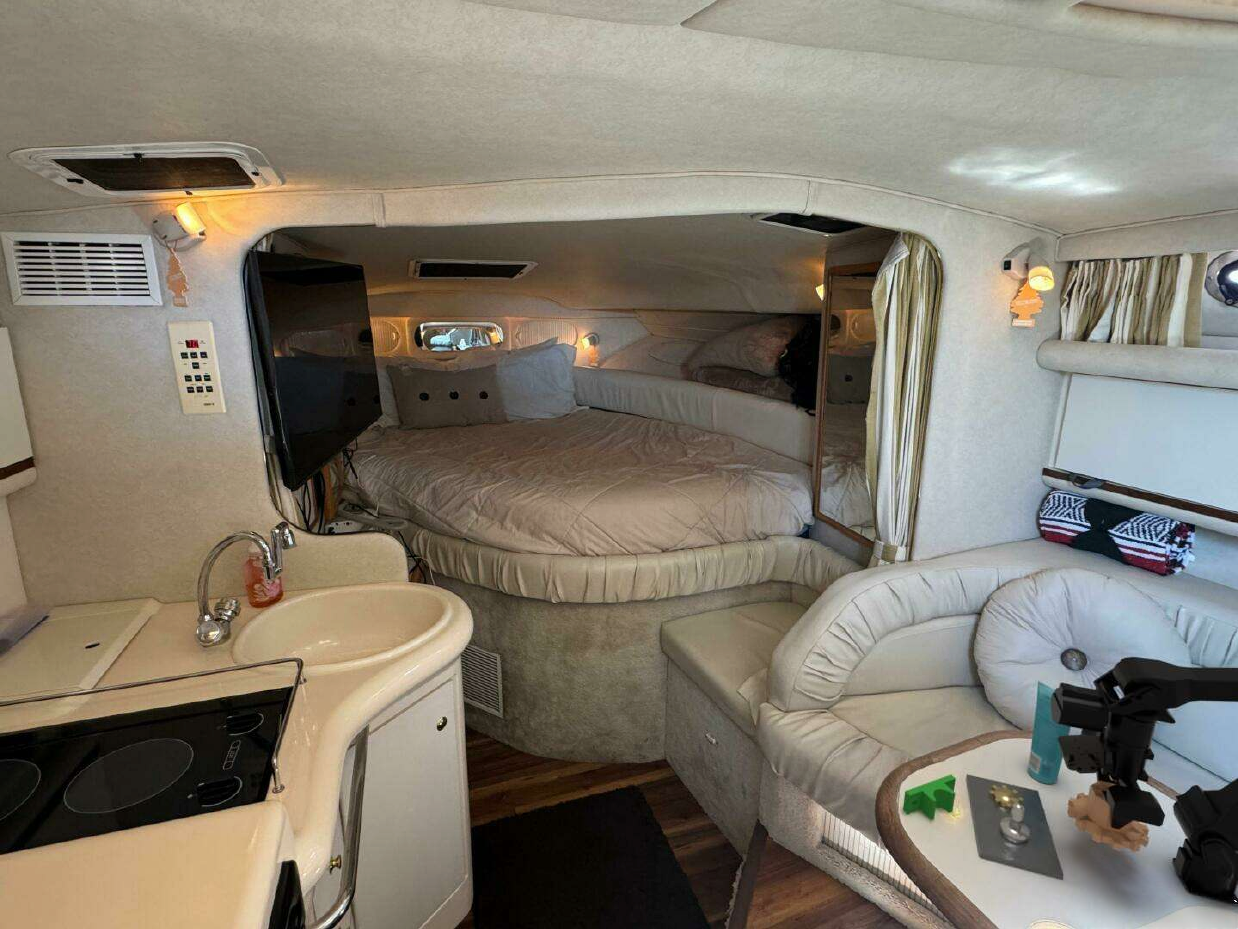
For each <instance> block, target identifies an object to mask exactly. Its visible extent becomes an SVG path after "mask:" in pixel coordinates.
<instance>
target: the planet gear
mask: <svg viewBox="0 0 1238 929" xmlns="http://www.w3.org/2000/svg"><path fill="white" fill-rule="evenodd" d="M1113 785H1117V784H1112V783H1108V782H1103V781H1098V782H1097V781H1096V782H1094V783H1091V784H1090V787H1089V789H1088V790H1089V791H1088V795H1087V794H1085V793H1084V792H1079V793H1077V795H1076V798H1075V797H1073V796H1070V798H1069V799H1068V803H1067V811H1066V812H1067V816H1068V817H1069V818H1071V819H1072V818H1073V819H1075V823H1074V826H1075V828H1077V829H1078V830H1079V831H1081V832H1082V831H1086V832H1087V833H1088V834H1090V835H1091V840H1093V841H1095V842H1096V843H1098V844H1100V843H1105V844H1107V845H1108V844H1109V845H1111V849H1113V850H1117V851H1120V852H1121V851H1122V849H1129V850H1130V851H1131V852H1133V853H1135V852H1140V849H1141V846H1143V847H1145V848H1146V847H1147V846H1148V843H1149V840H1150V837H1149V836H1148V835H1149V828H1148V824H1145V823H1141V822H1138V821H1132V822H1130V823H1129V824H1127V825H1126V826H1124V827H1122V828H1121V829H1114V828H1112V827H1111V823H1110V811H1111V808H1110V806H1109V804H1108V803H1107V802H1106V799H1105V797H1104V795H1103V792H1102V791H1107V789H1108V787H1110V786H1113Z"/></svg>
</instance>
